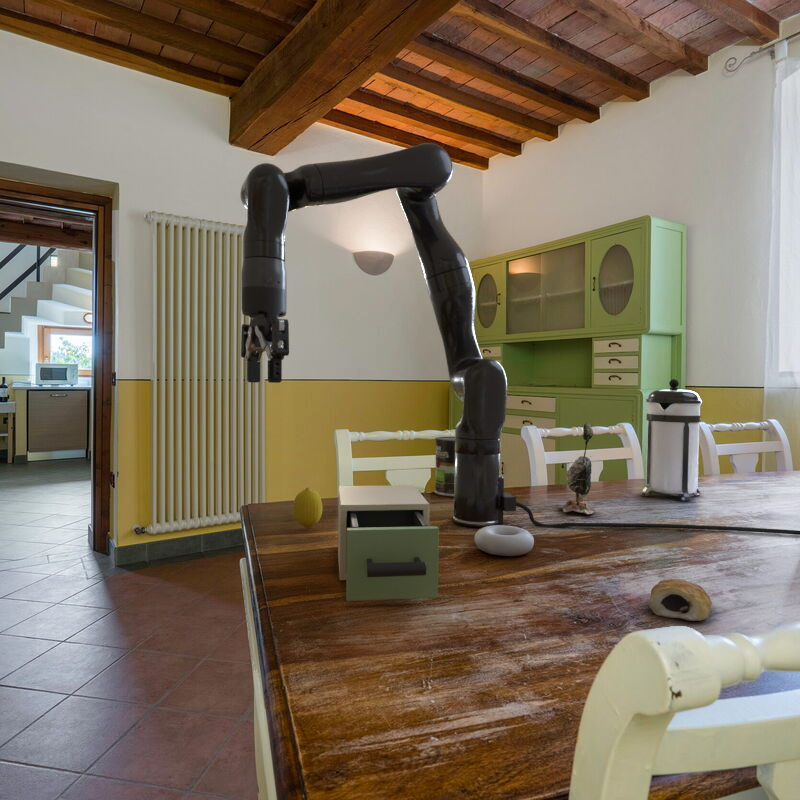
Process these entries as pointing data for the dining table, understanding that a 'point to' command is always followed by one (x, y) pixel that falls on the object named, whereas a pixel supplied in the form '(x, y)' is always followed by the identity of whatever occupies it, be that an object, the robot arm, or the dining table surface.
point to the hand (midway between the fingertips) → (263, 382)
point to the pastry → (680, 600)
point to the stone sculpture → (580, 479)
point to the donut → (504, 540)
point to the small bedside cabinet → (373, 508)
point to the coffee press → (673, 442)
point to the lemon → (307, 508)
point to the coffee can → (445, 466)
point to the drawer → (391, 556)
